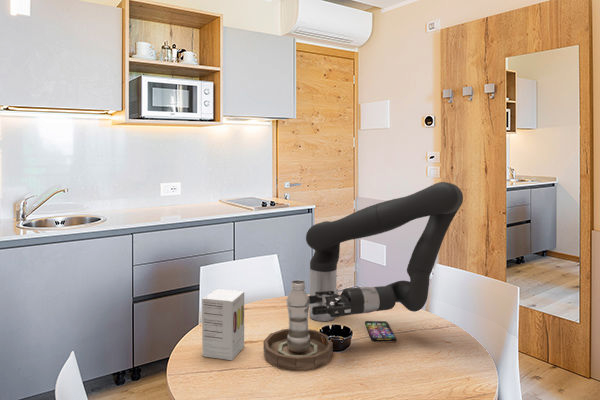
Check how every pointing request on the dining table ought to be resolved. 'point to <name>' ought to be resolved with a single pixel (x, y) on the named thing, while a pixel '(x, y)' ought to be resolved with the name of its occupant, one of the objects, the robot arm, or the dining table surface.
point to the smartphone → (380, 331)
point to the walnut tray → (289, 360)
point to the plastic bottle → (298, 318)
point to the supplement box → (223, 324)
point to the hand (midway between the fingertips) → (307, 305)
